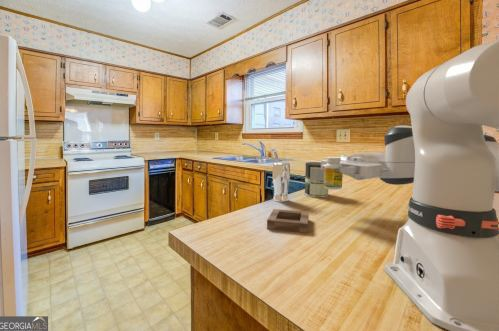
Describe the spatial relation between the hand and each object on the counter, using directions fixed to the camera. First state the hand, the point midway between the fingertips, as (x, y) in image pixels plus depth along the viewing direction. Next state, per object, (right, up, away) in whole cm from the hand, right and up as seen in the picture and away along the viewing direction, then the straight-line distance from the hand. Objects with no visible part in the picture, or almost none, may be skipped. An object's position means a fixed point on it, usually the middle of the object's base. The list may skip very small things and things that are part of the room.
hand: (331, 169), depth 76 cm
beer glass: (-13, -13, +24) cm, 30 cm away
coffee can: (+5, -12, +34) cm, 37 cm away
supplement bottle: (+1, -6, +1) cm, 6 cm away
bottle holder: (-14, -16, -3) cm, 21 cm away
